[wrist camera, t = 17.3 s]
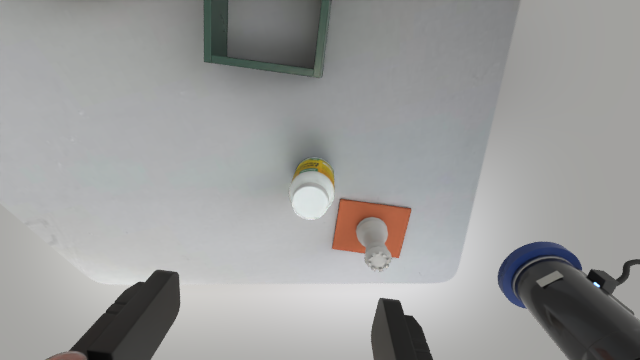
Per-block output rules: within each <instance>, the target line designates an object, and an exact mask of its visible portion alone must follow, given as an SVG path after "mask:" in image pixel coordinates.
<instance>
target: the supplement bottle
mask: <svg viewBox="0 0 640 360" xmlns="http://www.w3.org/2000/svg"><path fill="white" fill-rule="evenodd" d="M334 194H335V191H334V172H333V169H332V167H331V165H330V164H329V163H328V162H327V161H325V160H323V159H321V158H317V157H311V158H308V159H305V160H304V161H302V162H301V163H300V164H299V165H298V167H297V169H296V172H295V174H294V177H293V179H292V182H291V184H290V188H289V197H290V201H291V203H292V207H293V210H294V211H295V213H296V214H297V215H298V216H300V217H301V218H304V219H307V220H314V219H318V218H320V217H321V216H323V215H324V214H325V212H326V211H327V209H328V208H329V207H330V205H331V204H332V202H333V199H334Z"/></svg>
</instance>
